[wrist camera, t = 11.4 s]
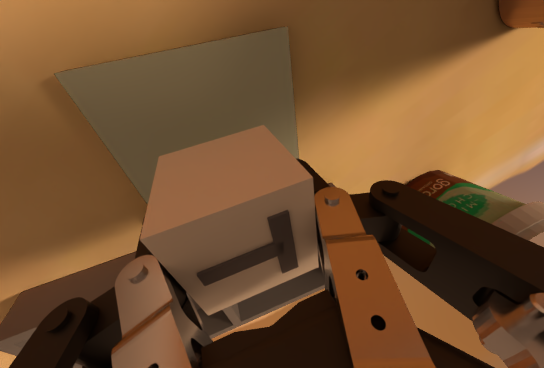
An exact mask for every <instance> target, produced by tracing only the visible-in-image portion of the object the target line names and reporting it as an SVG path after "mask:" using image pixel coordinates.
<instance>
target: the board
mask: <svg viewBox="0 0 544 368" xmlns="http://www.w3.org/2000/svg"><path fill="white" fill-rule="evenodd" d="M54 75H55V76H56V77H57V79H58V80H59V82H60V83H61V84H62V86H63V87H64V89H65V90H66V91H67V93H68V94H69V96H70V97H71V98H72V100H73V101H74V103H75V104H76V105H77V107H78V108H79V109H80V111H81V112H82V114H83V115H84V116H85V118H86V119H87V121H88V122H89V123H90V125H91V126H92V128H93V129H94V130H95V132H96V133H97V135H98V136H99V137H100V139H101V140H102V142H103V143H104V144H105V146H106V147H107V149H108V150H109V151H110V153H111V154H112V155H113V157H114V158H115V160H116V161H117V162H118V164H119V165H120V167H121V168H122V169H123V171H124V172H125V174H126V175H127V176H128V178H129V179H130V181H131V182H132V183H133V185H134V186H135V188H136V189H137V190H138V192H139V193H140V195H141V196H142V197H143V199H144V200H145V201H146V203H147V204H148V201H149V197H150V193H151V188H152V184H153V180H154V175H155V171H156V167H157V162H158V158H159V156H162V155H165V154H169V153H172V152H175V151H179V150H182V149H185V148H189V147H192V146H195V145H198V144H202V143H205V142H208V141H212V140H215V139H218V138H222V137H225V136H228V135H231V134H235V133H238V132H241V131H245V130H248V129H251V128H255V127H258V126H261V125H264V126H265V127H266V128H267V129H268V130H269V131H270V132H271V133H272V134H273V135H274V136H275V137H276V138H277V139H278V141H279V142H280V143H281V144H282V145H283V146H284V147H285V148H286V149H287V150H288V151H289V152H290V153H291V154H292V155H293V157H294V158H295V159H297V158H298V159H299V151H298V139H297V128H296V116H295V104H294V92H293V81H292V69H291V57H290V45H289V34H288V26H287V27H280V28H275V29H270V30H265V31H260V32H255V33H250V34H245V35H240V36H235V37H230V38H225V39H220V40H215V41H210V42H205V43H200V44H195V45H190V46H185V47H180V48H175V49H170V50H165V51H161V52H156V53H151V54H146V55H141V56H136V57H131V58H126V59H121V60H116V61H111V62H106V63H101V64H96V65H91V66H86V67H81V68H76V69H71V70H66V71H62V72H58V73H54Z"/></svg>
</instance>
